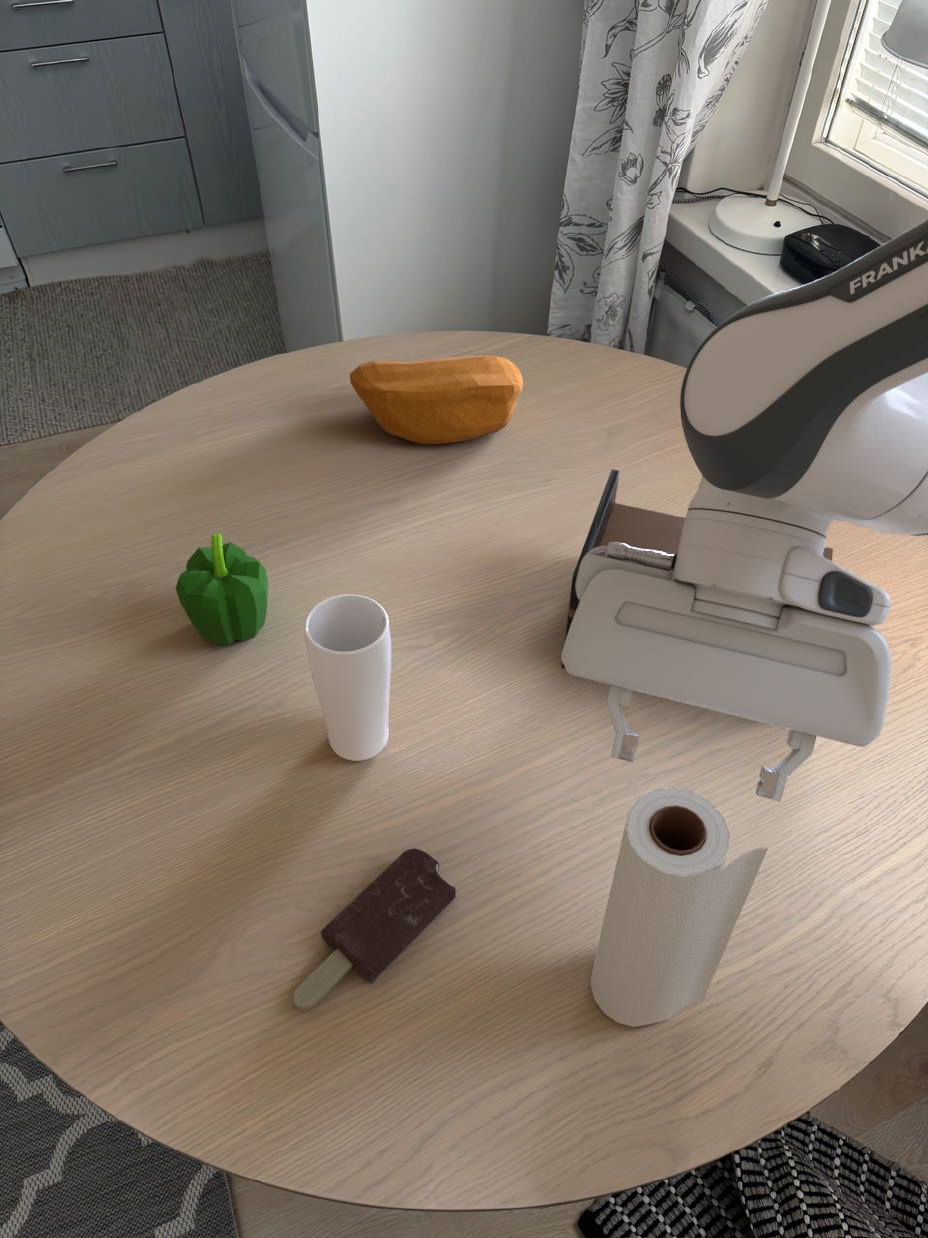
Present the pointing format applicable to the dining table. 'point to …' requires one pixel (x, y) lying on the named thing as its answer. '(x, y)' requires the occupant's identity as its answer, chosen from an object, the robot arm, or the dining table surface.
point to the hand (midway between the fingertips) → (693, 778)
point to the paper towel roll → (668, 908)
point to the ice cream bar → (379, 923)
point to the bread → (440, 396)
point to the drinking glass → (351, 672)
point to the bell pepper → (224, 592)
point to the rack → (631, 533)
